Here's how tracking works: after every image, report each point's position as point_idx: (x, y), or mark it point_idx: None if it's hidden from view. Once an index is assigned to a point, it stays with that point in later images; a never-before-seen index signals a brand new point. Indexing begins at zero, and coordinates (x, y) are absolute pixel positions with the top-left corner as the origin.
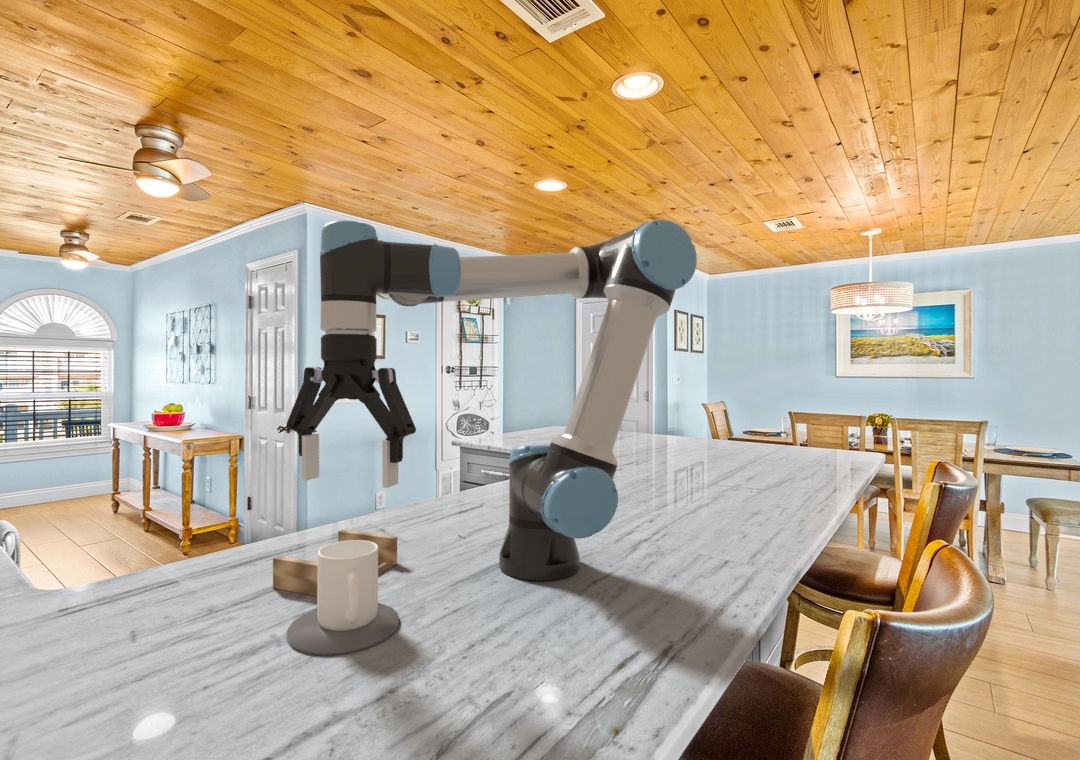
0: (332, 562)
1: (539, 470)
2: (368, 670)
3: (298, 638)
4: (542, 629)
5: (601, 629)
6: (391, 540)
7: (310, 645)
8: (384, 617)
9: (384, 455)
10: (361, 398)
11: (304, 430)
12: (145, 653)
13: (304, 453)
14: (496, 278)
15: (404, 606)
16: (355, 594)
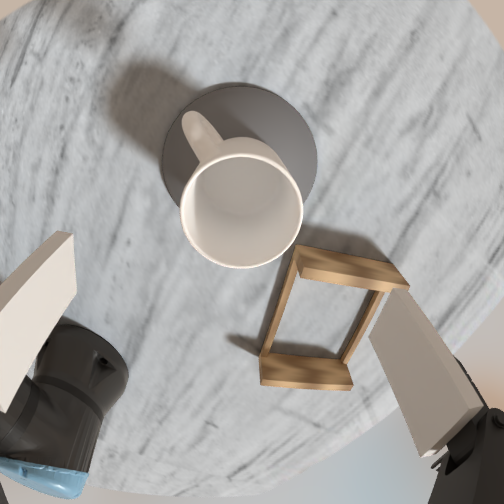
0: (245, 151)
1: None
2: (155, 67)
3: (283, 113)
4: (15, 210)
5: None
6: (266, 377)
7: (256, 97)
8: None
9: (2, 297)
10: None
11: (484, 429)
12: (443, 87)
13: (441, 350)
14: None
15: (185, 238)
16: (184, 116)
